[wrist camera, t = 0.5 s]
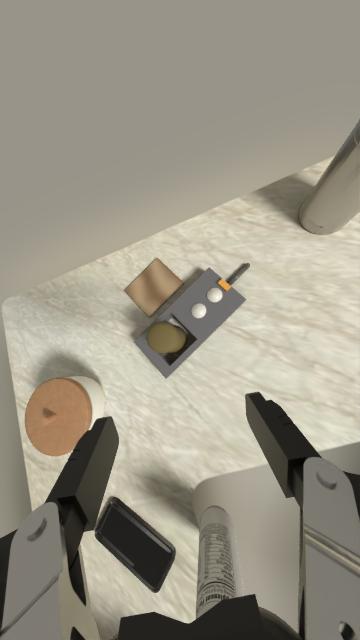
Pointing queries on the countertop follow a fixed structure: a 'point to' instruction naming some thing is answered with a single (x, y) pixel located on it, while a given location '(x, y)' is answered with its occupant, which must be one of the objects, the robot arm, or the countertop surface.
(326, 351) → the countertop surface
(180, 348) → the pepper shaker
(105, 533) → the phone
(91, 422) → the lidded bowl
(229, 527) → the energy drink can
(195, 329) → the charging strip
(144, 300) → the cork pad
